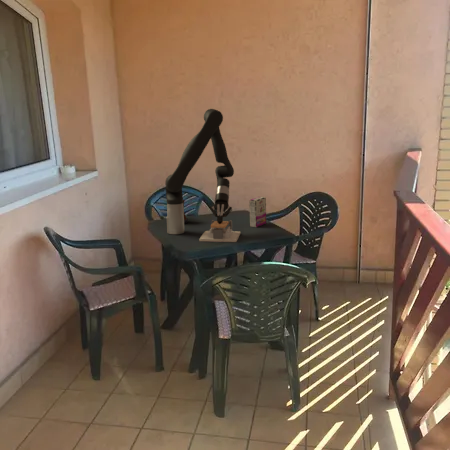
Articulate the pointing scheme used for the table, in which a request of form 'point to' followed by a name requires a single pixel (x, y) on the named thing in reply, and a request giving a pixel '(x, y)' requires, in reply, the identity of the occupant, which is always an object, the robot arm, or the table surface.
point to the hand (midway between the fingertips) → (219, 222)
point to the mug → (184, 214)
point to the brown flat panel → (217, 225)
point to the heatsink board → (225, 235)
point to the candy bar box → (257, 211)
